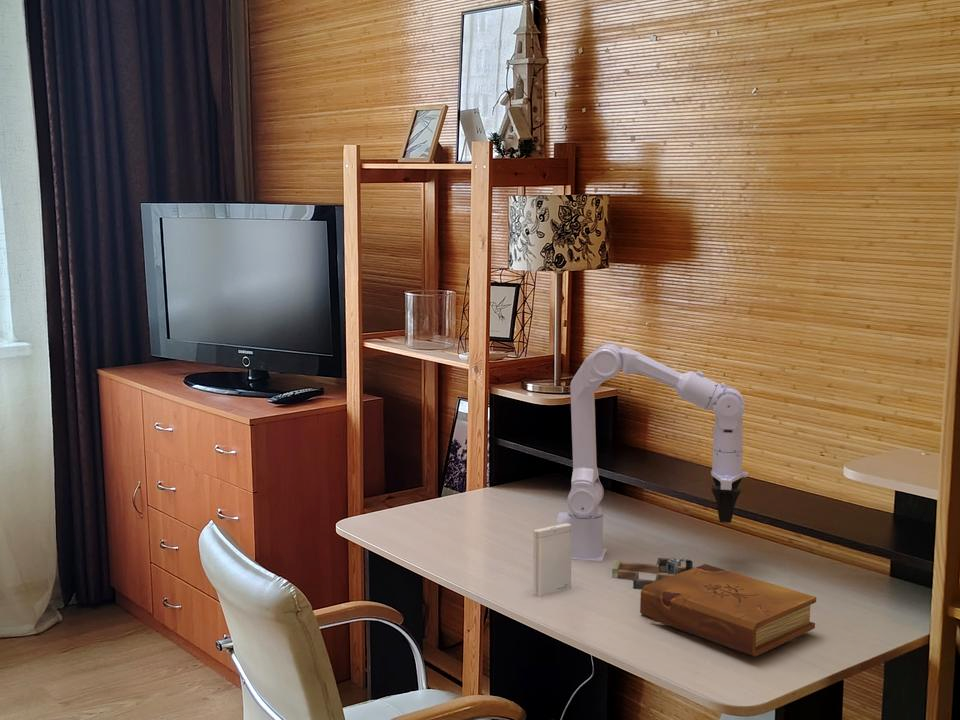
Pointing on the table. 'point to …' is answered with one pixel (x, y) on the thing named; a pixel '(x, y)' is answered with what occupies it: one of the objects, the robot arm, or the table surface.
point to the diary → (728, 608)
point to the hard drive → (552, 559)
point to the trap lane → (635, 568)
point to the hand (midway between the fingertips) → (725, 516)
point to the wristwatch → (673, 565)
